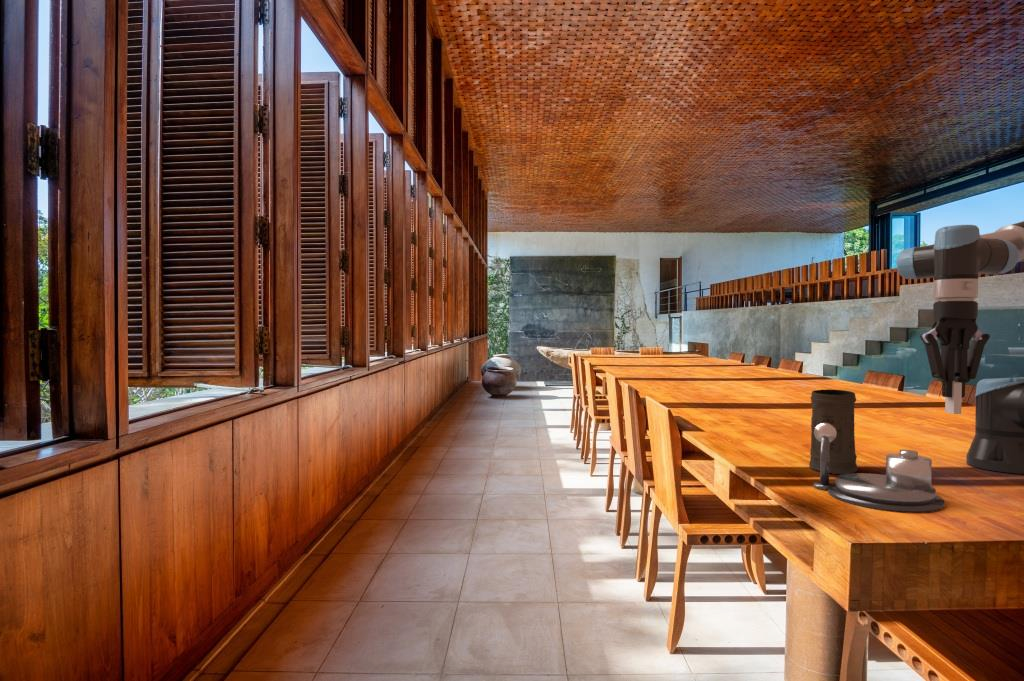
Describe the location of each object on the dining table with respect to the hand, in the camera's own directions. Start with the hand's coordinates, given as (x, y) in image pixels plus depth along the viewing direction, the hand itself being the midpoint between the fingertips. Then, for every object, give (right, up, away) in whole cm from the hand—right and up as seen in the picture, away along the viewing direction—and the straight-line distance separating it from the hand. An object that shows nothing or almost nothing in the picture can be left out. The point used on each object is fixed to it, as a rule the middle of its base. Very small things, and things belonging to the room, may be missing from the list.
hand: (953, 412), depth 126 cm
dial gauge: (-23, -18, +9) cm, 30 cm away
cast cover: (-9, -15, +1) cm, 18 cm away
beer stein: (-11, -18, +27) cm, 34 cm away
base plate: (-14, -18, +1) cm, 23 cm away
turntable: (-12, -17, +2) cm, 21 cm away
